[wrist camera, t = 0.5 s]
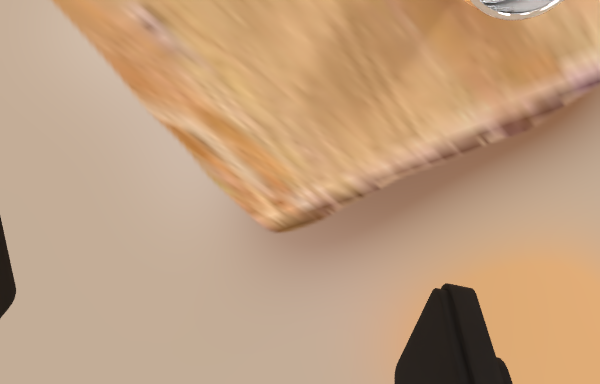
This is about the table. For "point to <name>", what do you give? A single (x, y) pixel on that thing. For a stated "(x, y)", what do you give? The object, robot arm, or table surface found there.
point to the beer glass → (513, 8)
